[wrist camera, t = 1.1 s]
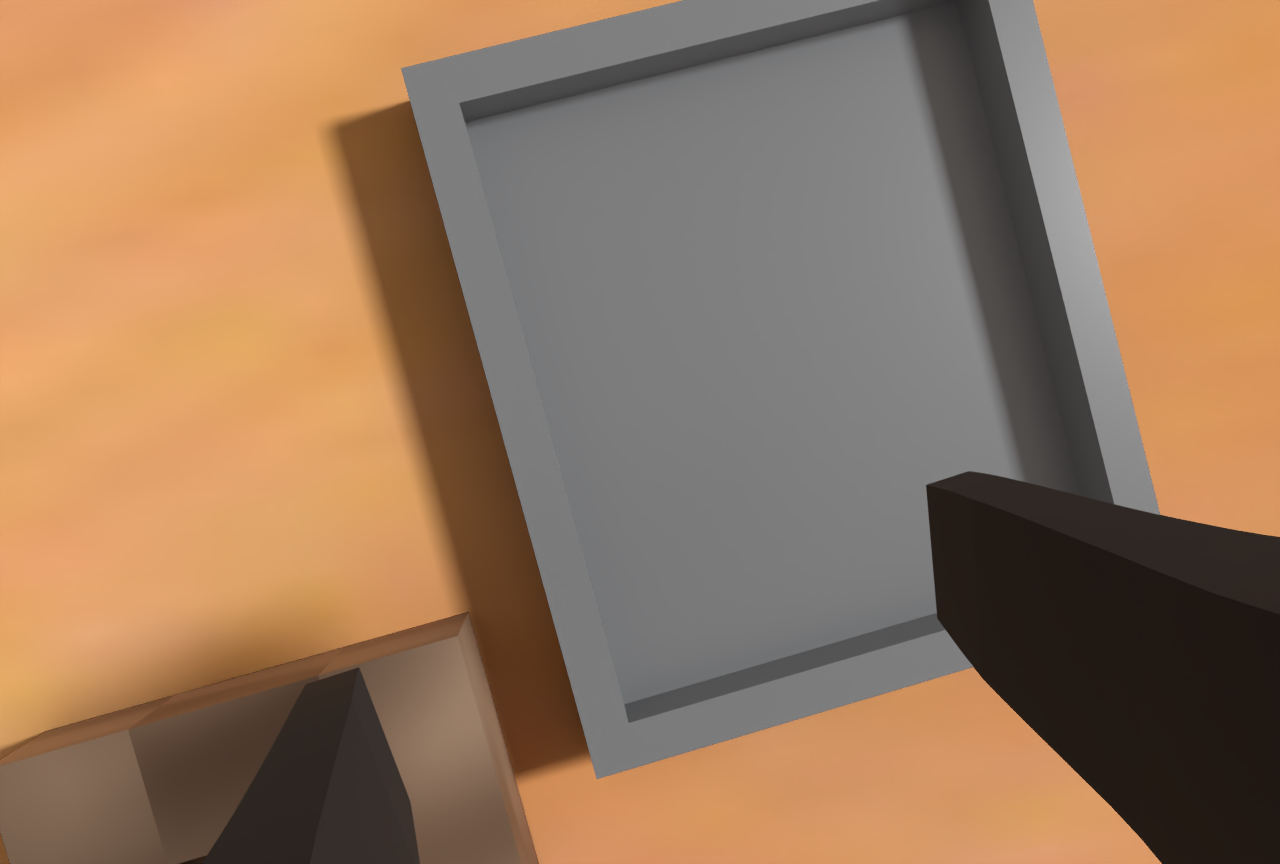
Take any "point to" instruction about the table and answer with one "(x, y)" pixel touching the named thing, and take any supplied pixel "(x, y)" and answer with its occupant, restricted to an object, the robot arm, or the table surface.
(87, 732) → the pin block
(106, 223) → the table surface
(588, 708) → the tray
